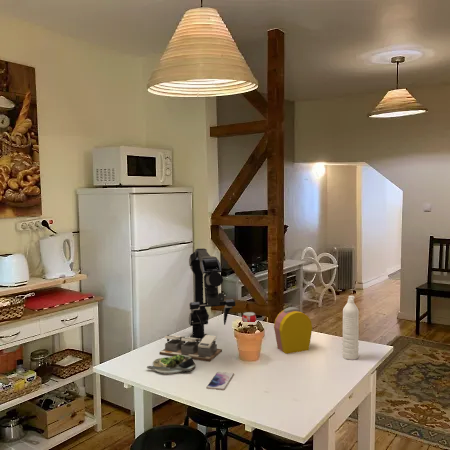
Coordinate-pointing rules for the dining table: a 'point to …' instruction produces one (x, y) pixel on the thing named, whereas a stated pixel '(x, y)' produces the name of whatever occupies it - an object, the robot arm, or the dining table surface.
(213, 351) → the switch console
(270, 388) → the dining table surface
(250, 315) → the soda can
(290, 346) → the alarm clock
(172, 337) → the switch
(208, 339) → the switch
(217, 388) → the smartphone
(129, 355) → the dining table surface
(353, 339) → the water bottle
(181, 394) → the dining table surface
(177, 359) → the salad plate
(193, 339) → the switch middle
